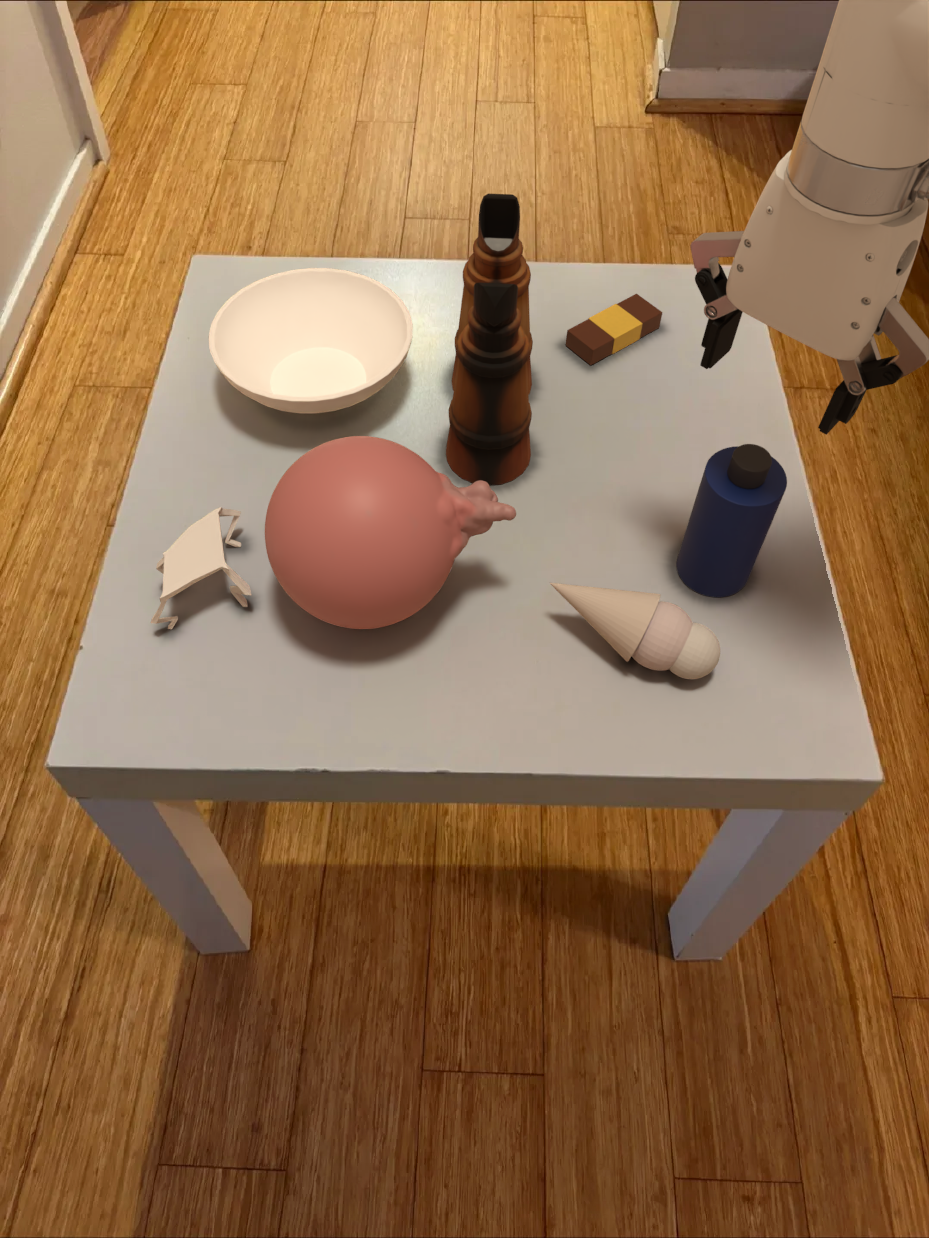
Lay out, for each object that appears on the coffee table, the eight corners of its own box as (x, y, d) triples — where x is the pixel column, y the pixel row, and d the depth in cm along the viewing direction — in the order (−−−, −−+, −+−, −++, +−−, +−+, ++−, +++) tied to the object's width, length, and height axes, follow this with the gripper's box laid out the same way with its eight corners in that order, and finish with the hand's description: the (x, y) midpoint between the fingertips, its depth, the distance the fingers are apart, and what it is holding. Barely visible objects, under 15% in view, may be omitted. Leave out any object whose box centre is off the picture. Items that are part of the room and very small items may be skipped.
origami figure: (250, 640, 82) (239, 606, 78) (150, 635, 82) (135, 601, 78) (273, 530, 89) (265, 493, 85) (182, 525, 89) (169, 489, 85)
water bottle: (762, 565, 87) (810, 454, 76) (723, 610, 84) (767, 501, 73) (701, 529, 89) (739, 416, 78) (662, 571, 87) (694, 460, 75)
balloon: (514, 664, 81) (526, 547, 68) (271, 665, 80) (238, 548, 68) (506, 521, 90) (516, 394, 77) (287, 522, 89) (261, 394, 77)
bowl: (449, 358, 102) (448, 304, 96) (350, 481, 92) (344, 428, 87) (291, 301, 107) (282, 246, 101) (182, 411, 97) (166, 357, 92)
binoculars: (453, 353, 103) (454, 173, 86) (532, 356, 102) (548, 177, 86) (443, 483, 92) (441, 307, 76) (530, 487, 92) (548, 312, 76)
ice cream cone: (539, 605, 84) (699, 683, 83) (527, 624, 78) (699, 708, 77) (569, 542, 82) (733, 620, 81) (560, 557, 76) (736, 641, 75)
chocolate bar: (633, 308, 107) (636, 292, 105) (659, 328, 105) (663, 312, 104) (564, 345, 104) (566, 329, 102) (591, 366, 102) (593, 350, 100)
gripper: (1029, 196, 54) (906, 420, 69) (761, 84, 61) (699, 311, 75) (971, 257, 51) (855, 479, 65) (694, 132, 57) (642, 360, 71)
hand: (772, 389), depth 70 cm, fingers open, 9 cm apart
